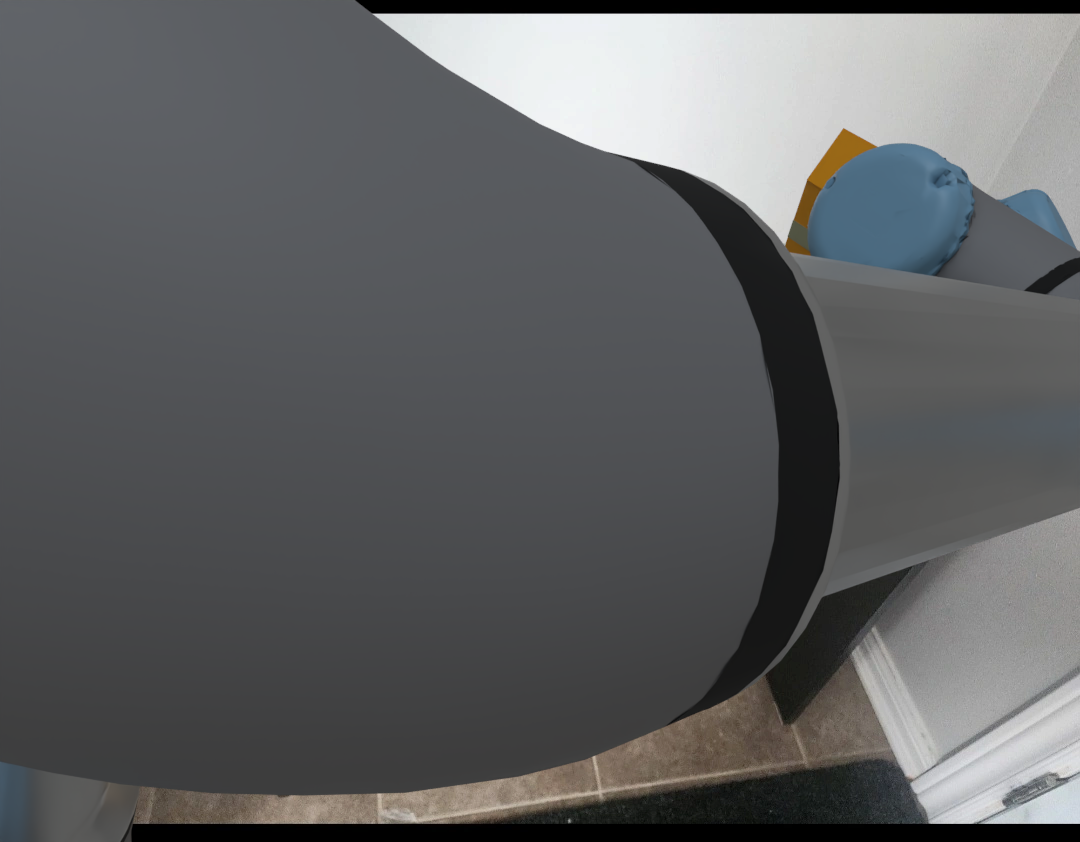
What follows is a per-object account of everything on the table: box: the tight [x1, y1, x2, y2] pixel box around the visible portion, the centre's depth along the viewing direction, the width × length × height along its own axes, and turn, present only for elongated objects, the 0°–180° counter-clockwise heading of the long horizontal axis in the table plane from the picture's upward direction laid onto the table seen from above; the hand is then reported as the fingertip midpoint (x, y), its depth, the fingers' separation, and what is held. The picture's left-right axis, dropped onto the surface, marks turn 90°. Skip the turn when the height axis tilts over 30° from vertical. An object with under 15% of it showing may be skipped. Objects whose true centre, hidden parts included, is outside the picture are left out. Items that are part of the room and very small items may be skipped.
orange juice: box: [784, 127, 878, 256], centre depth 94 cm, size 8×9×20 cm
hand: (601, 440), depth 67 cm, fingers open, 13 cm apart
